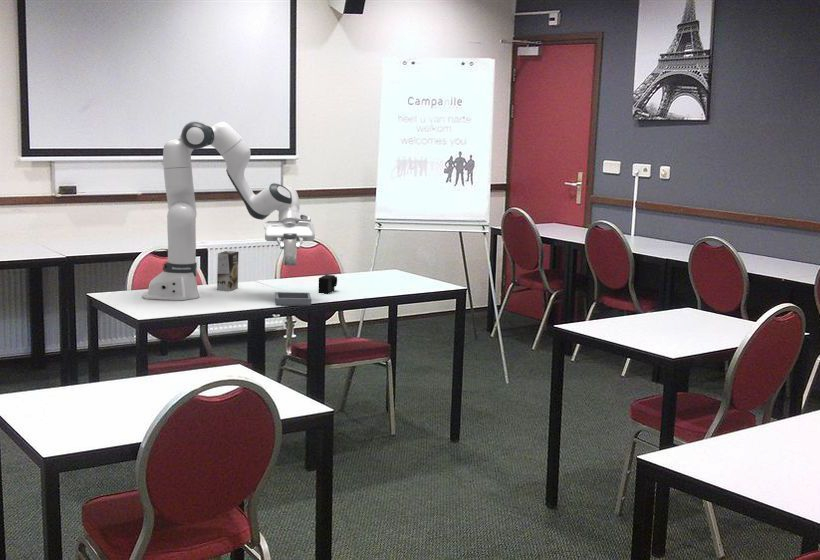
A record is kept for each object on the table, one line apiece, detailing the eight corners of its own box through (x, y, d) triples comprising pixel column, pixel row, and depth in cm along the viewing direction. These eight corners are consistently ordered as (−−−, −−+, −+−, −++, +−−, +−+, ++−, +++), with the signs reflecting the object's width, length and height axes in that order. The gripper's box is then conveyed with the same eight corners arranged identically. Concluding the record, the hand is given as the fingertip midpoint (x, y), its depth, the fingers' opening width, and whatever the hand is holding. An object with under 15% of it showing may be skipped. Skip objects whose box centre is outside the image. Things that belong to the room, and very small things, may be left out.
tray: (275, 305, 382) (276, 298, 382) (275, 299, 396) (275, 292, 395) (311, 306, 384) (311, 298, 384) (309, 299, 398) (309, 292, 398)
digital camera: (330, 294, 413) (330, 278, 412) (318, 293, 414) (318, 277, 413) (337, 290, 423) (337, 275, 422) (325, 290, 424) (325, 274, 423)
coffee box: (230, 291, 410) (231, 253, 407) (216, 290, 411) (217, 252, 409) (238, 288, 419) (239, 251, 416) (224, 286, 420) (225, 250, 417)
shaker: (283, 265, 385) (283, 234, 383) (283, 263, 390) (283, 232, 388) (297, 265, 386) (297, 234, 384) (296, 263, 391) (296, 233, 389)
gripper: (263, 216, 390) (264, 243, 382) (314, 216, 393) (315, 243, 386) (263, 226, 395) (264, 252, 387) (313, 226, 399) (314, 252, 391)
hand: (290, 248), depth 386 cm, fingers closed on shaker, 5 cm apart
